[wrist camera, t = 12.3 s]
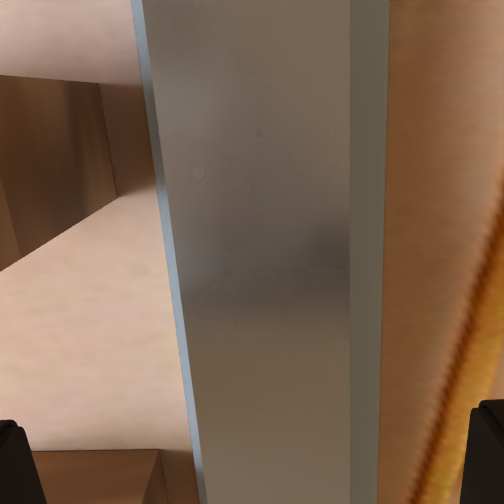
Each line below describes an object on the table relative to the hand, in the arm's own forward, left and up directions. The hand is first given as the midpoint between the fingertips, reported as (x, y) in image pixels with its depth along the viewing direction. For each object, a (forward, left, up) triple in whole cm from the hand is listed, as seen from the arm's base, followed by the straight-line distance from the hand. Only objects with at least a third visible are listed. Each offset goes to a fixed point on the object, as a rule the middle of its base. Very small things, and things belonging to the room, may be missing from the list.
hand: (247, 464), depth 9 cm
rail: (+1, 0, -6) cm, 6 cm away
